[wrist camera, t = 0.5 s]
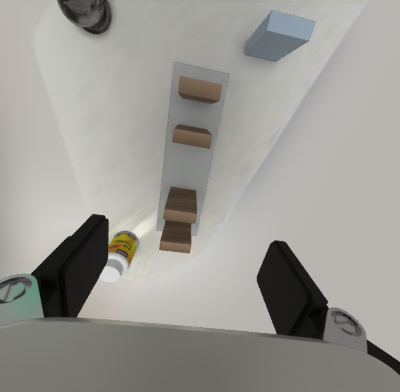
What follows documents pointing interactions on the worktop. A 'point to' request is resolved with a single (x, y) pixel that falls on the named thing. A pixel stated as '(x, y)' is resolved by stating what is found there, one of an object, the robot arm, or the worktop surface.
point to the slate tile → (279, 36)
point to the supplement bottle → (119, 256)
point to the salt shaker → (87, 14)
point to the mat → (185, 154)
